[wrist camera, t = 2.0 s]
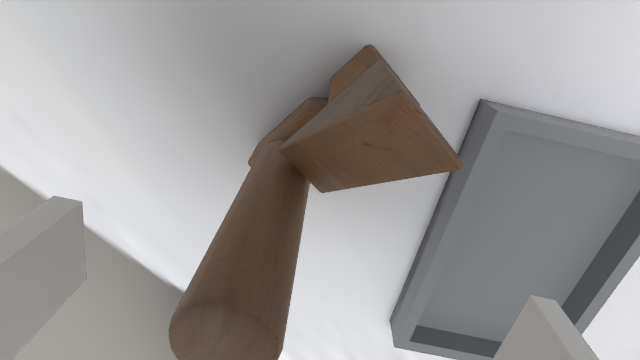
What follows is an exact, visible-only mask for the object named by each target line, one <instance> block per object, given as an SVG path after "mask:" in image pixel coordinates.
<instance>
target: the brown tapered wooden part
mask: <svg viewBox="0 0 640 360" xmlns="http://www.w3.org/2000/svg"><path fill="white" fill-rule="evenodd" d="M248 164H249V166H250V167H251V169H250V171H249V173H248V175H247V177H246V178H245V180H244V182H243V184H242V186H241V188H240V190H239V192H238V194H237V195H236V197H235V199H234V201H233V203H232V205H231V207H230V209H229V211H228V212H227V214H226V216H225V218H224V220H223V222H222V224H221V226H220V227H219V229H218V231H217V233H216V235H215V237H214V239H213V241H212V243H211V244H210V246H209V248H208V250H207V252H206V254H205V256H204V258H203V260H202V261H201V263H200V265H199V267H198V269H197V271H196V273H195V275H194V276H193V278H192V280H191V282H190V284H189V286H188V288H187V290H186V292H185V294H184V295H183V297H182V299H181V301H180V303H179V305H178V307H177V309H176V311H175V312H174V314H173V316H172V319H171V323H170V327H169V340H170V345H171V349H172V351H173V352H174V354H175V355H176V357H177V359H178V360H278V358H279V356H280V354H281V352H282V349H283V343H284V337H285V331H286V325H287V319H288V312H289V306H290V300H291V294H292V288H293V282H294V276H295V270H296V264H297V258H298V251H299V245H300V239H301V233H302V227H303V221H304V215H305V209H306V203H307V197H308V190H309V184H310V182H311V183H312V184H313V185H314V186H315V187H316V188H317V189H318V190H319V191H320V192H321V193H325V192H331V191H337V190H343V189H349V188H355V187H361V186H367V185H372V184H378V183H384V182H390V181H396V180H402V179H408V178H414V177H420V176H425V175H431V174H437V173H443V172H449V171H455V170H460V169H462V168H463V167H464V163H463V162H462V160H461V159H460V158H459V156H458V155H457V154H456V153H455V151H454V150H453V149H452V147H451V146H450V145H449V143H448V142H447V141H446V140H445V138H444V137H443V136H442V134H441V133H440V132H439V130H438V129H437V128H436V126H435V125H434V124H433V123H432V121H431V120H430V119H429V117H428V116H427V115H426V113H425V112H424V111H423V110H422V108H421V107H420V104H419V103H418V102H417V100H416V99H415V98H414V97H413V95H412V94H411V93H410V91H409V90H408V89H407V88H406V86H405V85H404V84H403V82H402V81H401V80H400V79H399V77H398V76H397V75H396V74H395V72H394V71H393V70H392V69H391V67H390V66H389V65H388V64H387V62H386V61H385V60H384V59H383V57H382V56H381V55H380V54H379V52H378V51H377V50H376V49H375V47H374V46H372V45H367V46H365V47H364V48H363V49H362V50H361V51H360V52H359V53H358V54H357V55H355V56H354V57H353V58H352V59H351V60H350V61H349V62H348V63H347V64H346V65H344V66H343V67H342V68H341V69H340V70H339V71H338V72H337V73H336V74H335V75H333V76H332V78H331V81H330V90H329V99H319V98H309V99H307V100H306V101H305V102H304V103H303V104H302V105H300V106H299V107H298V108H297V109H296V110H295V111H294V112H293V113H292V114H291V115H289V116H288V117H287V118H286V119H285V120H284V121H283V122H282V123H281V124H279V125H278V126H277V127H276V128H275V129H274V130H273V131H272V132H271V133H270V134H268V135H267V136H266V137H265V138H264V139H263V140H262V141H261V142H260V143H259V144H258V145H257V147H256V148H255V150H254V152H253V154H252V155H251V157H250V159H249V161H248Z"/></svg>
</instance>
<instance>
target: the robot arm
mask: <svg viewBox="0 0 640 360" xmlns="http://www.w3.org/2000/svg"><path fill="white" fill-rule="evenodd" d="M86 279H87V274H86V257H85V241H84V223H83V206H82V201H77V200H72V199H67V198H62V197H58V196H53V197H52V198H50V199H49V200H47V201H46V202H44V203H43V204H41V205H40V206H38V207H37V208H35V209H34V210H32V211H31V212H29V213H28V214H26V215H25V216H23V217H22V218H20V219H19V220H17V221H16V222H14V223H13V224H11V225H10V226H8V227H7V228H5V229H4V230H2V231H1V232H0V360H12V359H13V358H14V357H15V356H16V355H17V354H18V353H19V351H20V350H21V349H22V348H23V347H24V346H25V345H26V344H27V343H28V342H29V341H30V340H31V338H32V337H33V336H34V335H35V334H36V333H37V332H38V331H39V330H40V329H41V328H42V327H43V325H44V324H45V323H46V322H47V321H48V320H49V319H50V318H51V317H52V316H53V315H54V313H55V312H56V311H57V310H58V309H59V308H60V307H61V306H62V305H63V304H64V303H65V302H66V301H67V299H68V298H69V297H70V296H71V295H72V294H73V293H74V292H75V291H76V290H77V288H79V286H80V285H81V284H82V283H83V282H84V281H85V280H86ZM493 360H599V358H598V357H597V356H596V354H595V353H594V352H593V350H592V349H591V348H590V346H589V345H588V344H587V342H586V341H585V340H584V338H583V337H582V336H581V334H580V333H579V331H578V330H577V329H576V327H575V326H574V325H573V323H572V322H571V321H570V319H569V318H568V317H567V315H566V314H565V313H564V311H563V310H562V308H561V307H560V306H559V304H558V303H557V302H556V300H552V299H547V298H542V297H537V296H533V295H531V296H530V298H529V299H528V301H527V303H526V304H525V306H524V308H523V309H522V311H521V313H520V314H519V316H518V318H517V319H516V321H515V323H514V324H513V326H512V328H511V329H510V331H509V333H508V334H507V336H506V338H505V339H504V341H503V343H502V344H501V346H500V348H499V349H498V351H497V353H496V354H495V356H494V358H493Z"/></svg>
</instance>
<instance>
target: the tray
mask: <svg viewBox="0 0 640 360" xmlns="http://www.w3.org/2000/svg"><path fill="white" fill-rule="evenodd" d="M458 156H459V158H460V159H461V160H462V162H463V163H464V167H463V168H462V169H460V170H455V171H451V173H450V175H449V178H448V180H447V183H446V185H445V187H444V190H443V192H442V195H441V197H440V200H439V202H438V204H437V207H436V209H435V212H434V214H433V217H432V219H431V221H430V224H429V226H428V229H427V231H426V234H425V236H424V238H423V241H422V243H421V246H420V248H419V251H418V253H417V255H416V258H415V260H414V263H413V265H412V268H411V270H410V272H409V275H408V277H407V280H406V282H405V285H404V287H403V289H402V292H401V294H400V297H399V299H398V302H397V304H396V306H395V309H394V311H393V314H392V316H391V319H390V324H391V330H392V337H393V343H394V347H396V348H401V349H406V350H411V351H416V352H421V353H426V354H431V355H436V356H441V357H446V358H451V359H456V360H493V358H494V356H495V354H496V353H497V351H498V349H499V348H500V346H501V344H502V343H503V341H504V339H505V338H506V336H507V334H508V333H509V331H510V329H511V328H512V326H513V324H514V323H515V321H516V319H517V318H518V316H519V314H520V313H521V311H522V309H523V308H524V306H525V304H526V303H527V301H528V299H529V298H530V296H531V295H533V296H537V297H542V298H547V299H552V300H556V302H557V303H558V304H559V306H560V307H561V308H562V310H563V311H564V313H565V314H566V315H567V317H568V318H569V319H570V321H571V322H572V323H573V325H574V326H575V327H576V329H577V330H578V331H579V333H580V334H581V335H582V333H583V332H584V331H585V329H586V328H587V327H588V325H589V324H590V323H591V321H592V320H593V319H594V317H595V316H596V314H597V313H598V312H599V310H600V309H601V308H602V306H603V305H604V304H605V302H606V301H607V299H608V298H609V297H610V295H611V294H612V293H613V291H614V290H615V289H616V287H617V286H618V285H619V283H620V282H621V280H622V279H623V278H624V276H625V275H626V274H627V272H628V271H629V270H630V268H631V267H632V266H633V264H634V263H635V261H636V260H637V259H638V257H639V256H640V137H639V136H635V135H631V134H626V133H622V132H618V131H614V130H610V129H605V128H601V127H597V126H593V125H588V124H584V123H580V122H576V121H571V120H567V119H563V118H559V117H554V116H550V115H546V114H542V113H537V112H533V111H529V110H525V109H520V108H516V107H512V106H508V105H503V104H499V103H495V102H491V101H486V100H482V99H481V100H480V102H479V105H478V107H477V110H476V112H475V115H474V117H473V119H472V122H471V124H470V127H469V129H468V132H467V134H466V136H465V139H464V141H463V144H462V146H461V149H460V151H459V153H458Z"/></svg>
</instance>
